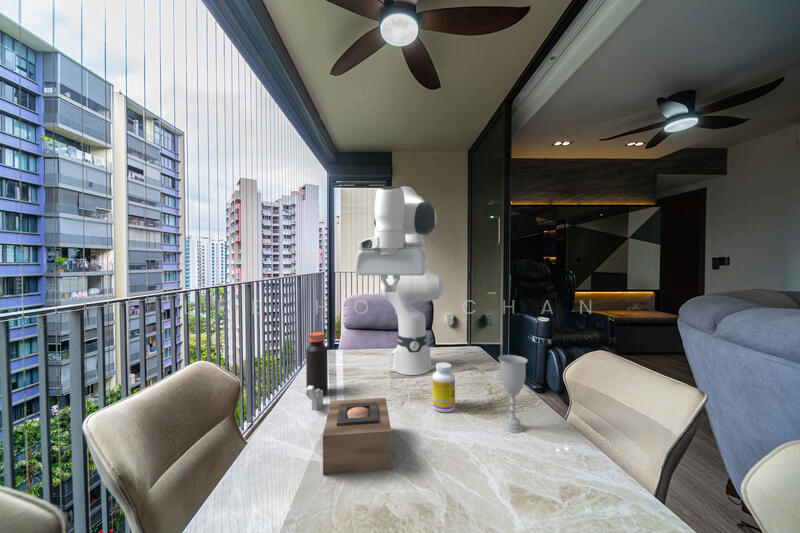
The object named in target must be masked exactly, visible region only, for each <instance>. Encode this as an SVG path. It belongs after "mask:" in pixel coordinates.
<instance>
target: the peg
mask: <svg viewBox="0 0 800 533" xmlns="http://www.w3.org/2000/svg"><path fill="white" fill-rule="evenodd" d="M360 417H369V410H368V409H367V408H364V407H355V408H351V409H350V410H348V412H347V418H360Z"/></svg>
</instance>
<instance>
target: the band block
mask: <svg viewBox="0 0 800 533" xmlns="http://www.w3.org/2000/svg"><path fill="white" fill-rule="evenodd" d="M355 407H364V408H367V409H368V410H369V417H360V418H347V412H348V410H350V409H351V408H355ZM322 433H323V434H322V475H323V476H327V475H328V476H329V475H338V474H351V473H363V472H373V471H374V472H375V471H385V470H386V471H387V470H392V428H391V422H390V414H389V411H388V402H387V398H386V397H379V398H378V397H377V398H376V397H375V398H374V397H373V398H372V397H371V398H360V399H357V398H356V399H339V400H337V399H336V400H331V401H330V404H329V407H328V411H327V416H326V421H325V425H324V428H323V432H322Z"/></svg>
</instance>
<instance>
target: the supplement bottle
mask: <svg viewBox="0 0 800 533" xmlns="http://www.w3.org/2000/svg"><path fill="white" fill-rule="evenodd" d="M452 367H453V366H452V364H450V363H449V362H438V363H436V364H435V370H436V371H435V372H434V373H433V374H432V408H433V409H434V410H435V411H437V412H440V413H451V412H453V411H454V410H455V408H456V376H455V375H454V373H453V372H452Z"/></svg>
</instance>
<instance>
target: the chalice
mask: <svg viewBox="0 0 800 533" xmlns="http://www.w3.org/2000/svg"><path fill="white" fill-rule="evenodd" d="M497 358H498V361H499V376H500V380H501V383H502V385H503V387H504V390H505V392H506V394H509V395H510V400H509V405H510V406H509V408H508V410H509V411H510V415H509V416H507V417H506V418H505V419H504V422H503V424H502V428H503V430H505V431H506V432H509V433H513V434H519V433H522V432H523V431H524V428H523V424H522V423H521V420H520V419H519V418H518V417H517V416H516V413H515V412H516V411H517V408H516V403H517V401H516V397H515V396H518V395H519V393H520V392H521V391H522V388H523V387H524V384H525V381H526V378H527V377H526V374H527V373H526V370H527V368H526V364H527V363H528V359H527V358H526V357H523V356H519V355H514V354H503V355H499V356H498V357H497Z"/></svg>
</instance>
